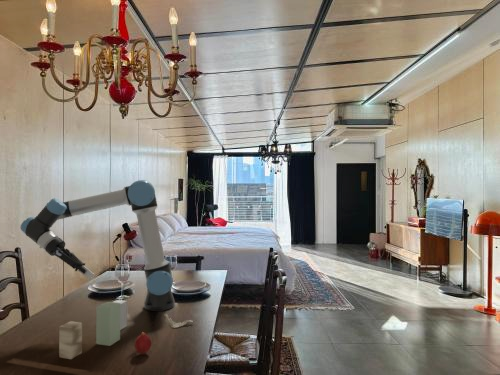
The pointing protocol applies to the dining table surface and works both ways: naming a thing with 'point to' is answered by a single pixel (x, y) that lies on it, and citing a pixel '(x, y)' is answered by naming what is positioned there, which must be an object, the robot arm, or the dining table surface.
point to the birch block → (70, 340)
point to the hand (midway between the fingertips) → (92, 277)
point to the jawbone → (176, 325)
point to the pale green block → (107, 323)
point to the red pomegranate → (143, 343)
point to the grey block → (122, 313)
